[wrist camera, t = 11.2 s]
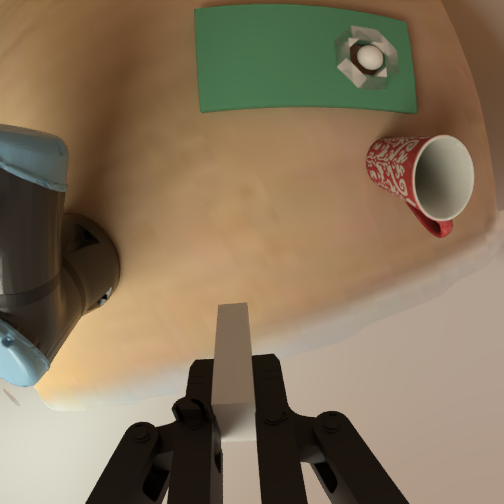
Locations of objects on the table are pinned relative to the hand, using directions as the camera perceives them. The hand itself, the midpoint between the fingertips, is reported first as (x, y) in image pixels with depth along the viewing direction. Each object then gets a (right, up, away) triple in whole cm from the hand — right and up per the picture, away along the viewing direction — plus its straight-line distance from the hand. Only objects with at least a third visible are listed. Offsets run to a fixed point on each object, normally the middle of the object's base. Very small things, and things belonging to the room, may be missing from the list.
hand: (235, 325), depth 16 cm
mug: (+20, +15, +22) cm, 33 cm away
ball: (+16, +29, +14) cm, 36 cm away
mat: (+8, +29, +15) cm, 33 cm away
